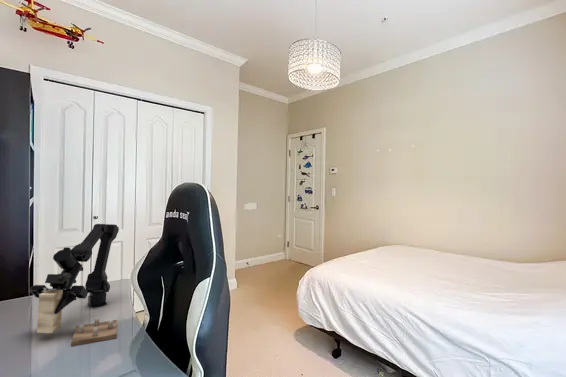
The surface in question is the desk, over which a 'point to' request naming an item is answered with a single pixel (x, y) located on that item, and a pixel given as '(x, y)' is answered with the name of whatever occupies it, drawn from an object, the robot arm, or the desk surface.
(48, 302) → the birch block
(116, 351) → the desk surface
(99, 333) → the board
